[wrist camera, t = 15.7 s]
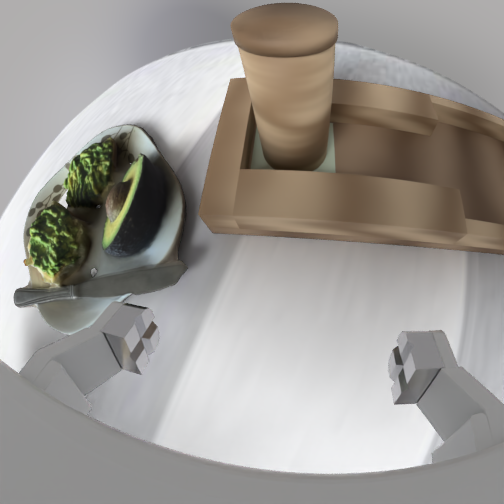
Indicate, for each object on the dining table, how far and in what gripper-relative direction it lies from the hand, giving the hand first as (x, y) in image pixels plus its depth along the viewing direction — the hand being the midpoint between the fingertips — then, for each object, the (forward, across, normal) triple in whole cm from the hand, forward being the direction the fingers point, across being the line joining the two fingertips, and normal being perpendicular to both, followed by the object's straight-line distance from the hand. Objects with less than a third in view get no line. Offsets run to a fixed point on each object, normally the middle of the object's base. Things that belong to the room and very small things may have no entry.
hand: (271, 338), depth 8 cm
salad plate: (+10, +16, +1) cm, 19 cm away
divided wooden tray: (+14, -8, -3) cm, 17 cm away
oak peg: (+13, 0, -4) cm, 14 cm away
